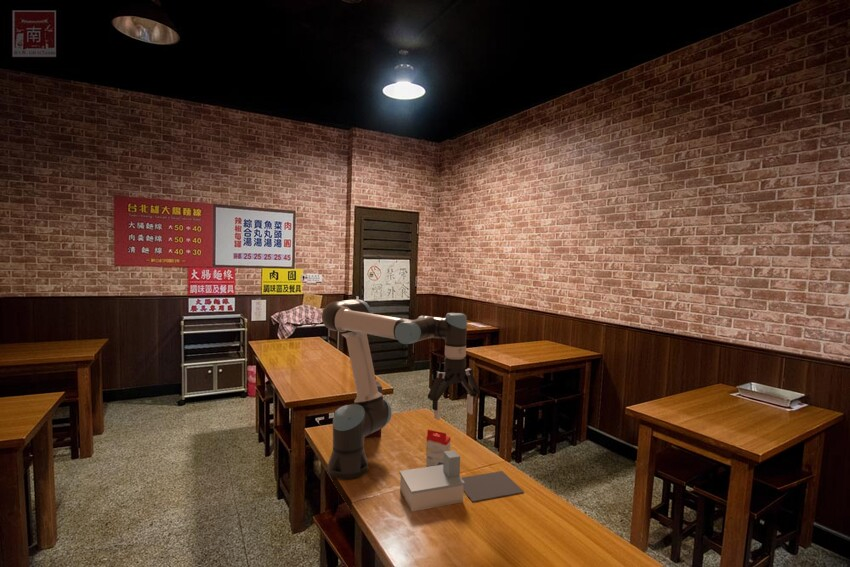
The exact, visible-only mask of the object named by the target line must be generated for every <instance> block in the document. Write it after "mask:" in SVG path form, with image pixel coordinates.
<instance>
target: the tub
mask: <svg viewBox="0 0 850 567" xmlns="http://www.w3.org/2000/svg"><path fill="white" fill-rule="evenodd" d="M399 486H400V487H399V488H400V494H402V496H403V498H404V500H405V502H406V504H407V506H408V507H409V509H410V512H417V511H423V510H429V509H434V508H440V507H444V506H450V505H455V504H459V503H460V504H461V503H463V502H464V491H463V487H464V485H462V486H456V487H450V488H444V489H438V490H433V491H427V492H421V493H415V494H411V492H410V491H409V489H408V487H407V485H406V484H405V482H404V480H403V478H402V477H401V476H400V483H399Z"/></svg>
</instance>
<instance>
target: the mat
mask: <svg viewBox="0 0 850 567" xmlns="http://www.w3.org/2000/svg"><path fill="white" fill-rule="evenodd" d="M461 479H462V480H463V481H464V482H465V485H464V487H463V493H465V495H466V496H467V497H468V498H469V500H470V501H471V502H472V503H476V502H481V501H487V500H491V499H492V500H493V499H497V498H501V497H502V498H503V497H508V496H514V495H520V494H524V493H525V491H524V490H523V489H522V488H521V487H520V486H519V485H517V483H516V482H515V481H514V480H512V479H511V478H510V476H508V475H507V474H506V473H505V472H504V471H503V470H501V471H494V472H488V473H481V474H476V475H471V476H465V477H464V476H463V477H461Z"/></svg>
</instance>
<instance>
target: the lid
mask: <svg viewBox="0 0 850 567" xmlns="http://www.w3.org/2000/svg"><path fill="white" fill-rule="evenodd" d="M460 471H461V456H460V455H459V454H458V452H457V451H456V450H455V449H453V450H452V449H450V451H444V460H443V465H437V466H430V467H428V466H425V467H424V466H423V467H417V468H411V469H404V470H399V475H400V478H401V477H402V478H403V480H404V482H405V484H406V485H407V487H408V489H409V491H410V492H411V494H415V493H421V492H427V491H433V490H438V489H444V488H450V487H456V486H462V485H465V482H464V481H463V480H462V479H461V478H462V477H461V476H460Z"/></svg>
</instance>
